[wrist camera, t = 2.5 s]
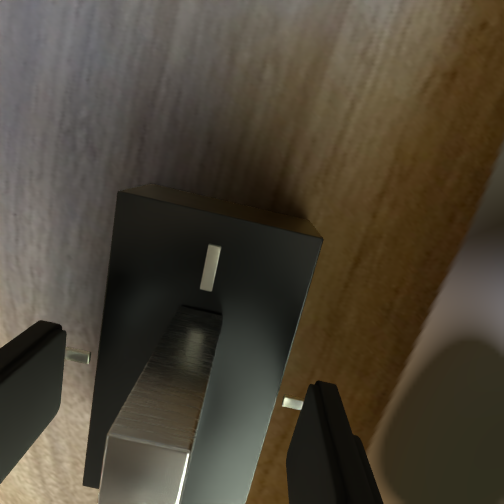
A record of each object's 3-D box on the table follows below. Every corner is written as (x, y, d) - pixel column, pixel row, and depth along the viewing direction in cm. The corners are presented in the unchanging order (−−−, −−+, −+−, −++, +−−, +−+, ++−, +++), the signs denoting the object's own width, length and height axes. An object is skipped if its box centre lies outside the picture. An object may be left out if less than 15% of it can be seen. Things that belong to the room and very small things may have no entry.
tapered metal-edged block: (179, 305, 10) (98, 446, 5) (224, 315, 10) (187, 464, 5) (155, 435, 12) (72, 649, 6) (194, 443, 12) (143, 663, 7)
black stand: (108, 173, 12) (56, 177, 9) (351, 229, 13) (380, 252, 9) (81, 417, 15) (35, 481, 12) (279, 458, 15) (283, 531, 12)
